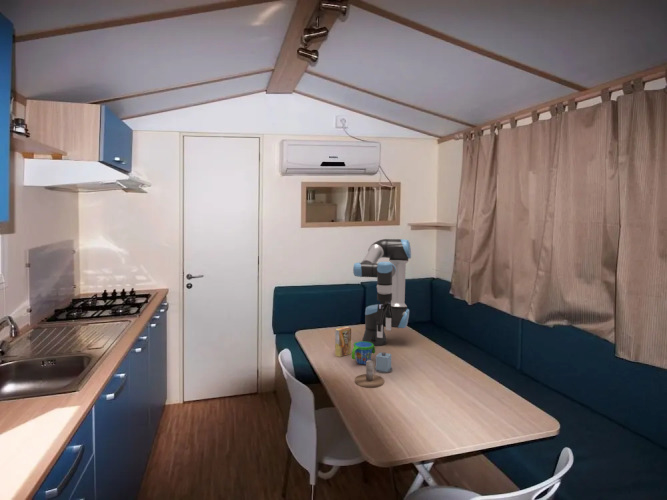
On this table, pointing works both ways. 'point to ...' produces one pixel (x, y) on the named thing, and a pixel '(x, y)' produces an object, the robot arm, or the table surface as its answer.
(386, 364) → the cube with round hole
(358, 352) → the snack cup
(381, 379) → the post stand
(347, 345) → the candy box
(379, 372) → the coaster
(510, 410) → the table surface
